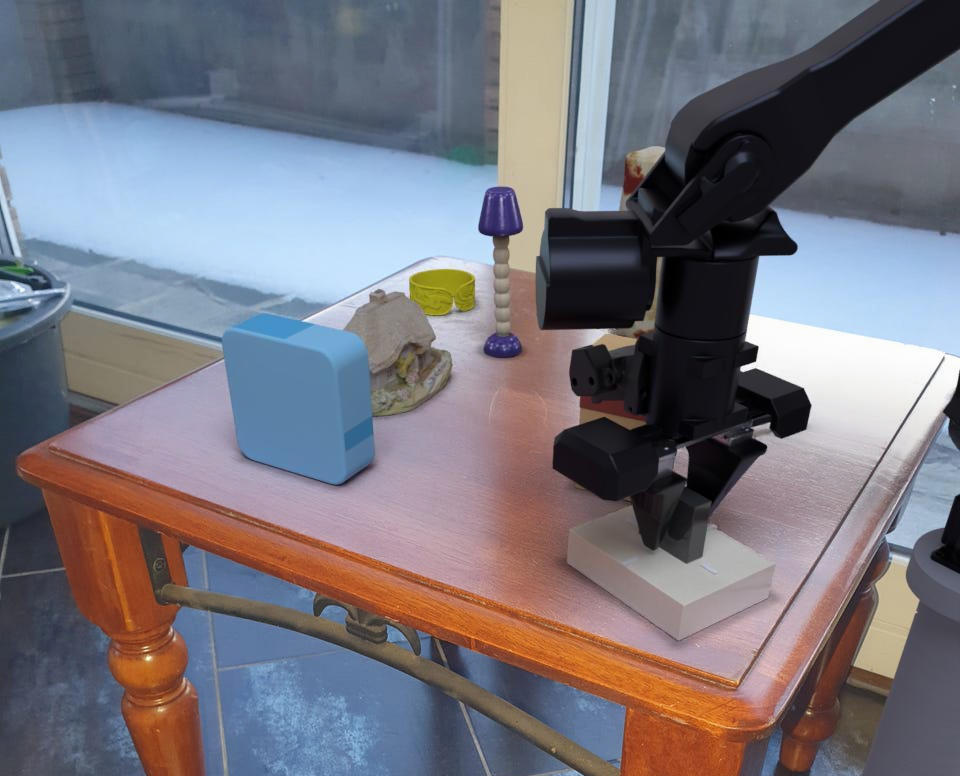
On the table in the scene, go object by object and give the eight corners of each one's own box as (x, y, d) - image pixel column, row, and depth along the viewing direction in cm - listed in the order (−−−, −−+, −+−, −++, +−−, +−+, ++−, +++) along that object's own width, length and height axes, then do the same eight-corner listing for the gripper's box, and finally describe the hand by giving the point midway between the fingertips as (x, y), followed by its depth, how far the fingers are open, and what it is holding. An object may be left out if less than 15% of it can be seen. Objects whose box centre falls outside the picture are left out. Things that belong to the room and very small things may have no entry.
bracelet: (399, 301, 123) (398, 274, 121) (456, 291, 126) (456, 265, 124) (426, 319, 118) (425, 291, 116) (485, 308, 121) (485, 280, 119)
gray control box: (702, 556, 70) (712, 497, 68) (686, 563, 70) (695, 504, 67) (654, 527, 74) (661, 469, 71) (638, 533, 73) (644, 475, 70)
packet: (594, 465, 88) (605, 332, 81) (671, 483, 85) (689, 348, 78) (573, 487, 85) (583, 351, 77) (652, 507, 82) (669, 367, 75)
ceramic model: (379, 427, 94) (373, 323, 88) (296, 398, 99) (284, 297, 93) (470, 380, 103) (470, 283, 97) (389, 356, 108) (384, 262, 102)
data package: (377, 468, 87) (368, 334, 80) (346, 490, 84) (334, 352, 77) (271, 437, 92) (253, 309, 85) (238, 457, 89) (217, 325, 82)
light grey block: (769, 597, 72) (777, 560, 70) (677, 641, 67) (683, 603, 66) (654, 527, 79) (659, 492, 78) (565, 563, 75) (567, 527, 73)
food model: (598, 340, 112) (613, 146, 100) (621, 322, 117) (638, 135, 105) (679, 356, 108) (705, 157, 96) (700, 337, 113) (727, 145, 101)
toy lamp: (483, 359, 108) (484, 195, 98) (473, 344, 111) (473, 184, 101) (526, 356, 109) (531, 193, 98) (515, 340, 112) (518, 182, 102)
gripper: (712, 266, 71) (684, 462, 81) (503, 317, 63) (499, 530, 72) (837, 309, 64) (791, 519, 74) (621, 374, 56) (600, 602, 65)
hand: (670, 539), depth 71 cm, fingers open, 4 cm apart
